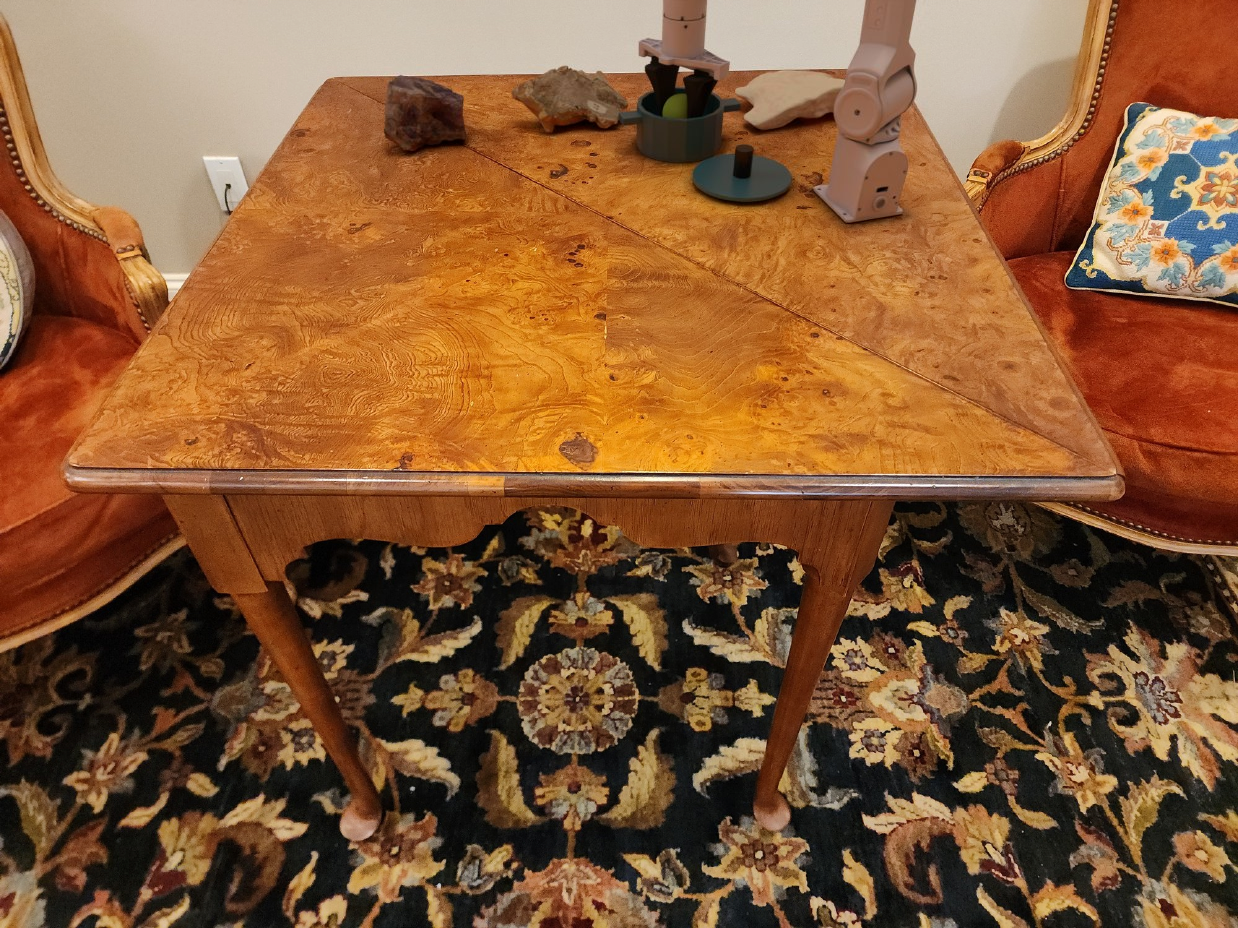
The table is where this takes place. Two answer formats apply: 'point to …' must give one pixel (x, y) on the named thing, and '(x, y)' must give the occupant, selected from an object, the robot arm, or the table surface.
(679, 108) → the ball
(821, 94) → the decorative stone
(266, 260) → the table surface
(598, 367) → the table surface
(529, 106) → the mineral specimen
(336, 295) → the table surface
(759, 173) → the lid
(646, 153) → the pot
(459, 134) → the rock
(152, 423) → the table surface
